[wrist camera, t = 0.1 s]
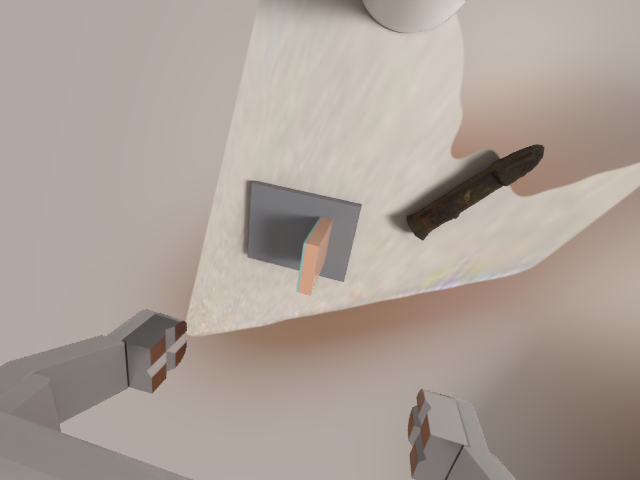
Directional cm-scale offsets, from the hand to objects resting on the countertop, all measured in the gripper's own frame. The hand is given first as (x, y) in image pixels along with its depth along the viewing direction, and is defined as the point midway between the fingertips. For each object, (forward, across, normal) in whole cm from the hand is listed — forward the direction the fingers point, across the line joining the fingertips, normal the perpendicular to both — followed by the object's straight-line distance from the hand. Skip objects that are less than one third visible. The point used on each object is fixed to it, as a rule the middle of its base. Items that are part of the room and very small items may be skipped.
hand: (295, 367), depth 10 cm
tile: (+38, +5, +10) cm, 40 cm away
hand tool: (+39, -14, -3) cm, 42 cm away
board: (+40, +9, +10) cm, 42 cm away
